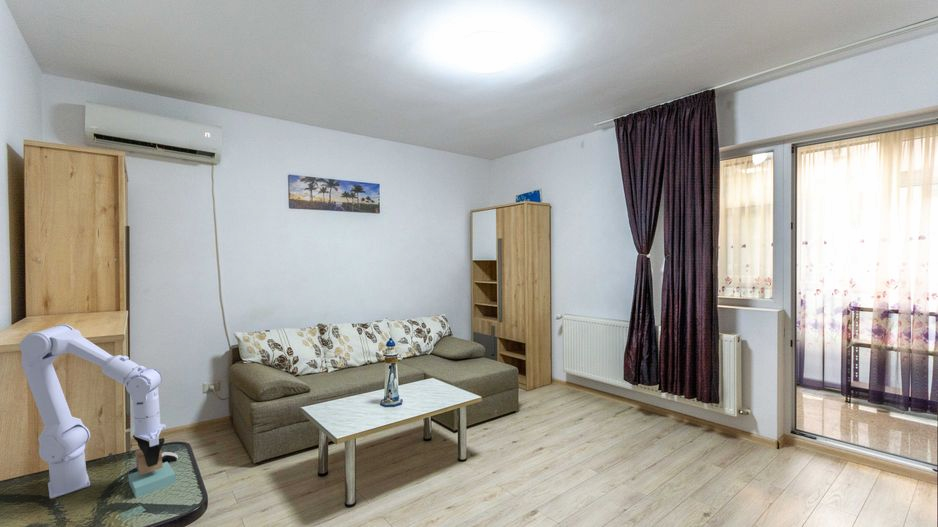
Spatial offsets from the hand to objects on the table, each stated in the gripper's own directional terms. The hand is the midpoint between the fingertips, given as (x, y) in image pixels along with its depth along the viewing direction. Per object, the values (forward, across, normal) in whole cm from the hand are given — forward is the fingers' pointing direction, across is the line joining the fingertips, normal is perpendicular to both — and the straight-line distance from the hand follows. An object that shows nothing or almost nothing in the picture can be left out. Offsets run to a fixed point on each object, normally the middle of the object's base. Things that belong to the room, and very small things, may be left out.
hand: (150, 461), depth 120 cm
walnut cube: (+2, 0, 0) cm, 2 cm away
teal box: (+6, -1, 0) cm, 6 cm away
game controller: (+6, +8, -3) cm, 11 cm away
